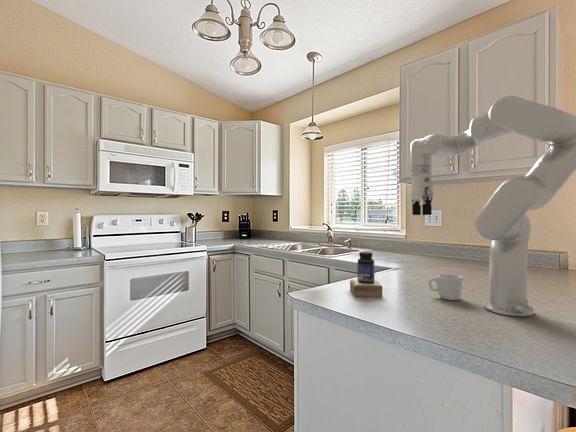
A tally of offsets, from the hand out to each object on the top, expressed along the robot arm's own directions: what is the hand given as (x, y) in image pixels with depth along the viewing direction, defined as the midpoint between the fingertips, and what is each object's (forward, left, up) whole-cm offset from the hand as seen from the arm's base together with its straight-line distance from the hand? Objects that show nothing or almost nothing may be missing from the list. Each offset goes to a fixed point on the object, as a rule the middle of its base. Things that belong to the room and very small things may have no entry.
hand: (421, 214), depth 120 cm
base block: (-7, +23, -29) cm, 38 cm away
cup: (-12, -4, -30) cm, 32 cm away
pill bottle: (-7, +23, -25) cm, 35 cm away
